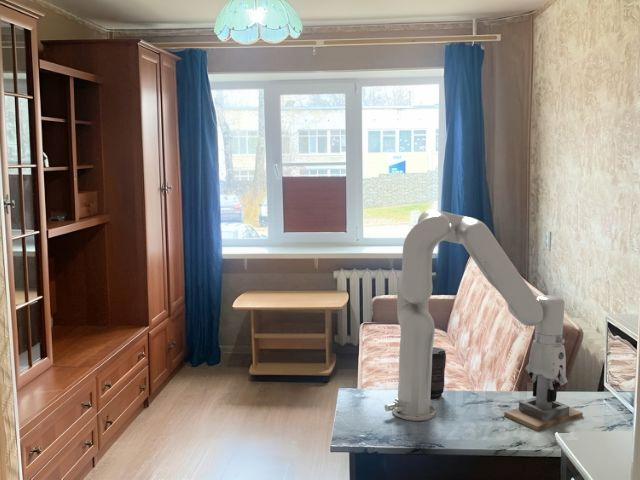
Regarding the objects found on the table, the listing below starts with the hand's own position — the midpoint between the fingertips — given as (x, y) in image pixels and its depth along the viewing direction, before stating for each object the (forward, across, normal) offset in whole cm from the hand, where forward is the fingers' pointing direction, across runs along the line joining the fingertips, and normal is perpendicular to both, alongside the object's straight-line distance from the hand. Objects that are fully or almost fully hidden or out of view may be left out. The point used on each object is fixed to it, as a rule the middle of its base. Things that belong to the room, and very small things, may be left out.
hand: (544, 398), depth 200 cm
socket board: (+6, 0, 0) cm, 6 cm away
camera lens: (+6, +29, +18) cm, 34 cm away
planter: (+3, 0, 0) cm, 3 cm away
